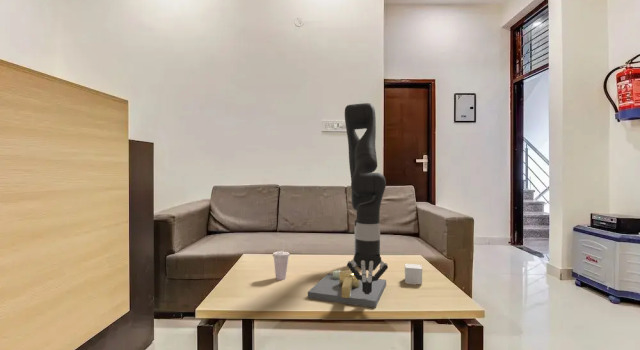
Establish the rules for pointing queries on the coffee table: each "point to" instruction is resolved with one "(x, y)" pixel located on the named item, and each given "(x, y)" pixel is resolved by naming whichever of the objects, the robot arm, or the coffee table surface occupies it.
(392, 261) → the coffee table surface
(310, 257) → the coffee table surface
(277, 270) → the smoothie
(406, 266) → the beige cube
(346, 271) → the tan handled round piece
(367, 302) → the grey base plate
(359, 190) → the robot arm
